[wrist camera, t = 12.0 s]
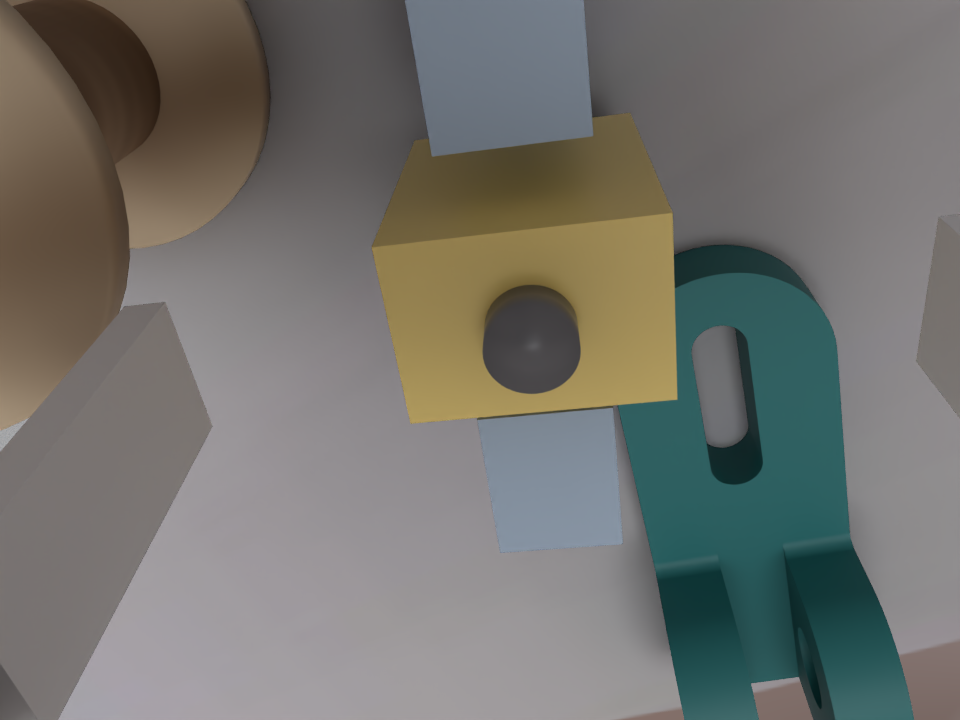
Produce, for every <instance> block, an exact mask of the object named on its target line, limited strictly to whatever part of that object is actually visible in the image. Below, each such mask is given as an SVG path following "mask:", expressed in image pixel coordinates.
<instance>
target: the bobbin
mask: <svg viewBox="0 0 960 720" xmlns="http://www.w3.org/2000/svg"><path fill="white" fill-rule="evenodd" d="M269 114H270V83H269V72H268V67H267V62H266V57H265V52H264V48H263V45H262V42H261V39H260V36H259V32H258V29H257V26H256V24H255V22H254V19H253V17H252V15H251V13H250V11H249V8H248V6H247V4H246V2H245V0H0V430H3V429H6V428H8V427H10V426H12V425H14V424H17V423H19V422H21V421H23V420H25V419H27V418H29V417H31V416H32V414H33V413H34V412H35V411H36V410H37V409H38V407H39V406H40V405H41V404H42V403H43V402H44V400H45V399H46V398H47V397H48V396H49V394H50V393H51V392H52V391H53V390H54V389H55V387H56V386H57V385H58V384H59V383H60V382H61V380H62V379H63V378H64V377H65V376H66V375H67V373H68V372H69V371H70V370H71V369H72V368H73V366H74V365H75V364H76V363H77V362H78V360H79V359H80V358H81V357H82V356H83V355H84V353H85V352H86V351H87V350H88V349H89V348H90V346H91V345H92V344H93V343H94V342H95V341H96V339H97V338H98V337H99V336H100V335H101V334H102V332H103V331H104V330H105V329H106V328H107V327H108V325H109V324H110V323H111V322H112V321H113V319H114V318H115V317H116V316H117V315H118V314H119V311H120V308H121V304H122V301H123V297H124V294H125V290H126V286H127V277H128V269H129V261H130V249H133V248H145V247H151V246H156V245H161V244H165V243H168V242H171V241H174V240H177V239H180V238H182V237H184V236H186V235H188V234H190V233H192V232H194V231H196V230H198V229H199V228H201V227H202V226H204V225H205V224H206V223H208V222H209V221H210V220H212V219H213V218H214V217H215V216H216V215H217V214H218V213H219V212H221V211H222V210H223V209H224V208H225V207H226V206H227V205H228V203H229V202H230V201H231V200H232V199H233V198H234V197H235V196H236V194H237V193H238V192H239V191H240V189H241V188H242V187H243V185H244V184H245V182H246V181H247V180H248V178H249V177H250V175H251V173H252V171H253V169H254V167H255V165H256V164H257V162H258V160H259V157H260V154H261V151H262V148H263V145H264V142H265V139H266V133H267V128H268V123H269Z"/></svg>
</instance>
